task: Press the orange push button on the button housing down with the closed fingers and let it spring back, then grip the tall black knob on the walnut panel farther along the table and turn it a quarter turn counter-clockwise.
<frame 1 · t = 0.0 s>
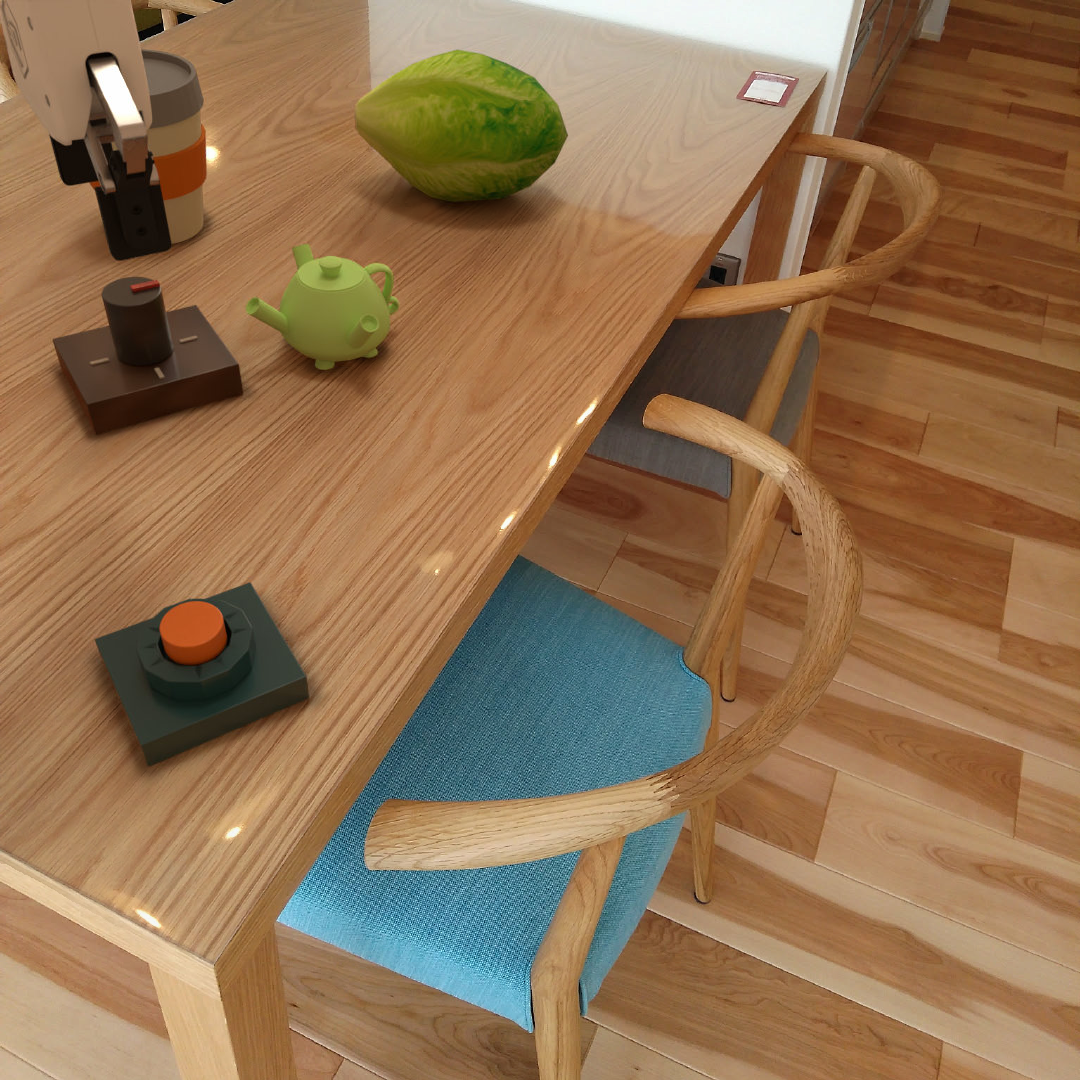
hand: (115, 215, 58), 23 cm above the table, tool pointing down, fingers open, 9 cm apart
dial: (137, 319, 81), point 6 cm above the table, hinge at 0.0°
reusable coffee cup: (158, 226, 104), on the table
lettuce: (460, 192, 114), on the table
button housing: (205, 679, 64), on the table
dial panel: (152, 381, 85), on the table
teapot: (328, 350, 90), on the table
orange push button: (193, 633, 60), point 4 cm above the table, slide at 0.1 cm
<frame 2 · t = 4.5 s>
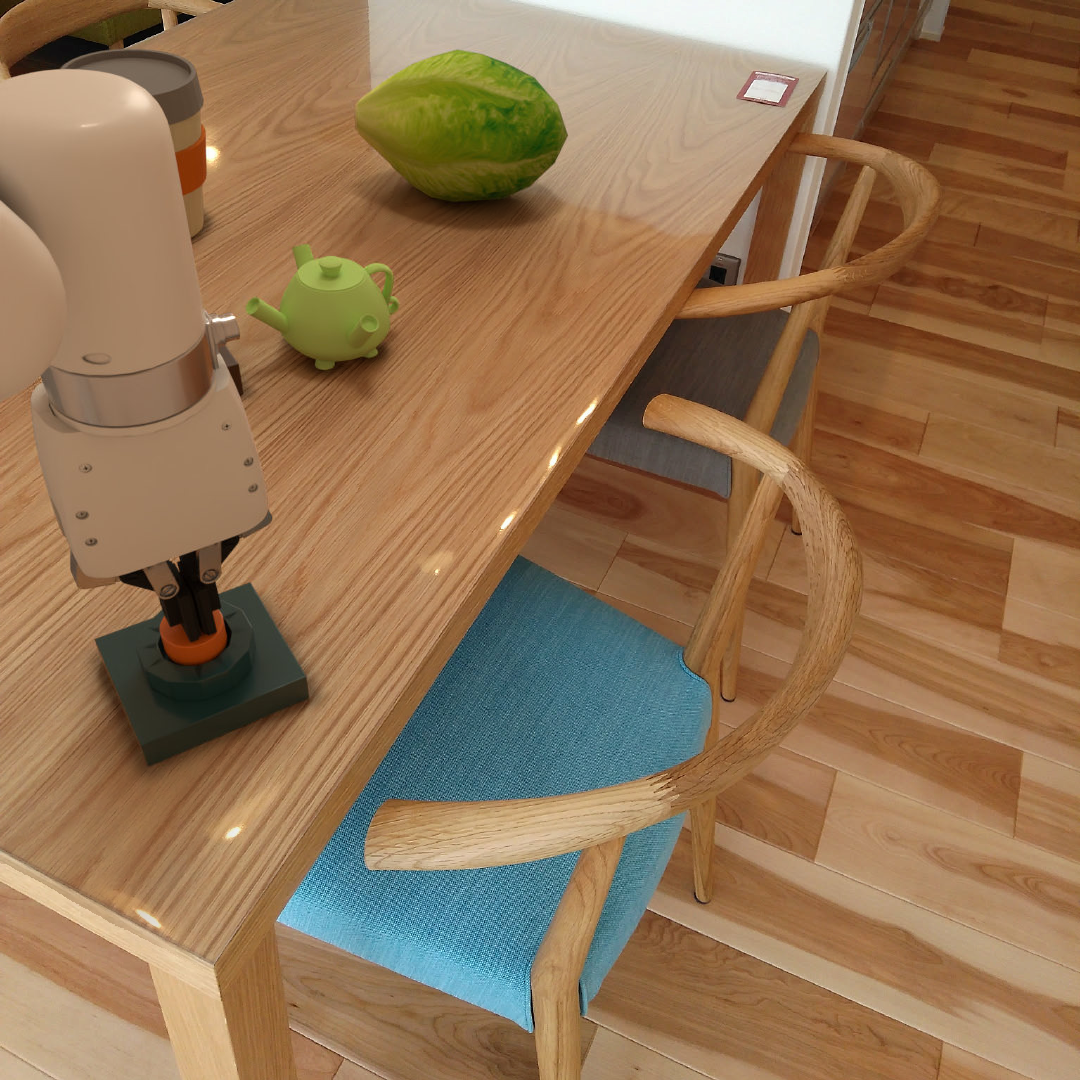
hand: (195, 621, 60), 5 cm above the table, tool pointing down, fingers closed
orange push button: (193, 633, 60), point 4 cm above the table, slide at 0.1 cm, touching gripper
everything else where it was.
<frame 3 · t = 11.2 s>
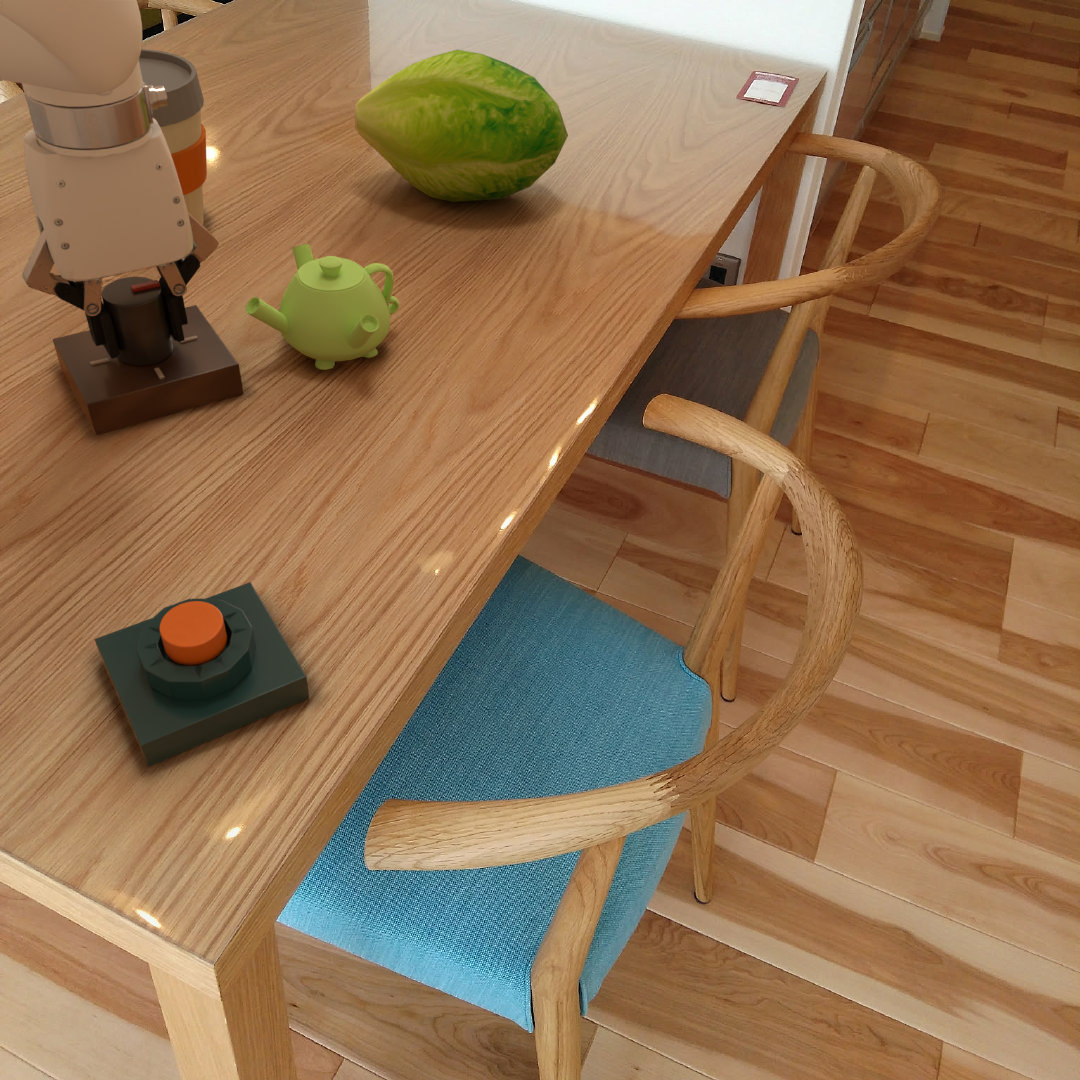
hand: (142, 339, 82), 4 cm above the table, tool pointing down, fingers closed on dial, 4 cm apart
dial: (137, 319, 81), point 6 cm above the table, hinge at -0.1°, touching gripper
orange push button: (193, 633, 60), point 4 cm above the table, slide at 0.1 cm
everything else where it was.
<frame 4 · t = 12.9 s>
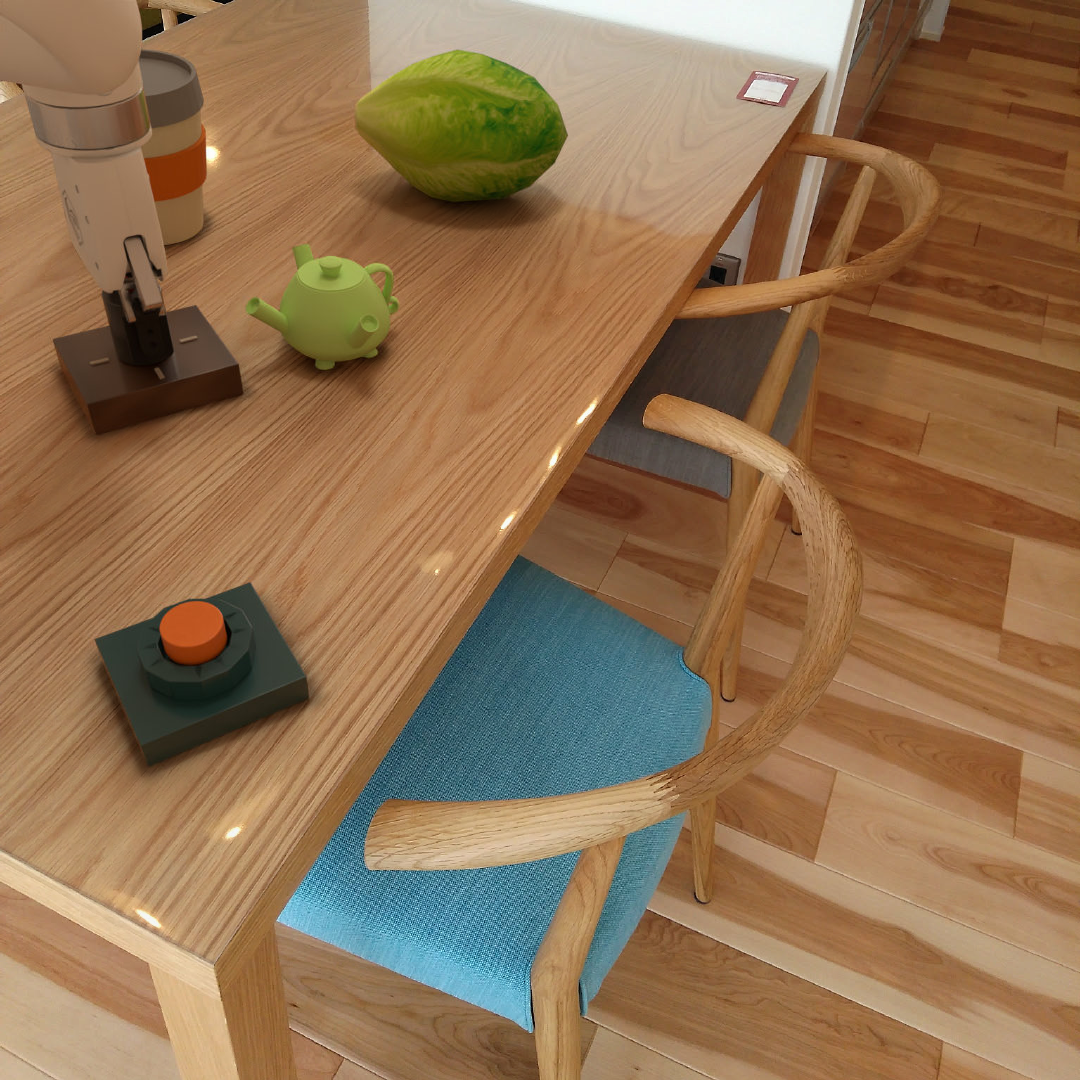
hand: (142, 339, 82), 4 cm above the table, tool pointing down, fingers closed on dial, 4 cm apart
dial: (137, 319, 81), point 6 cm above the table, hinge at 91.2°, touching gripper
everything else where it was.
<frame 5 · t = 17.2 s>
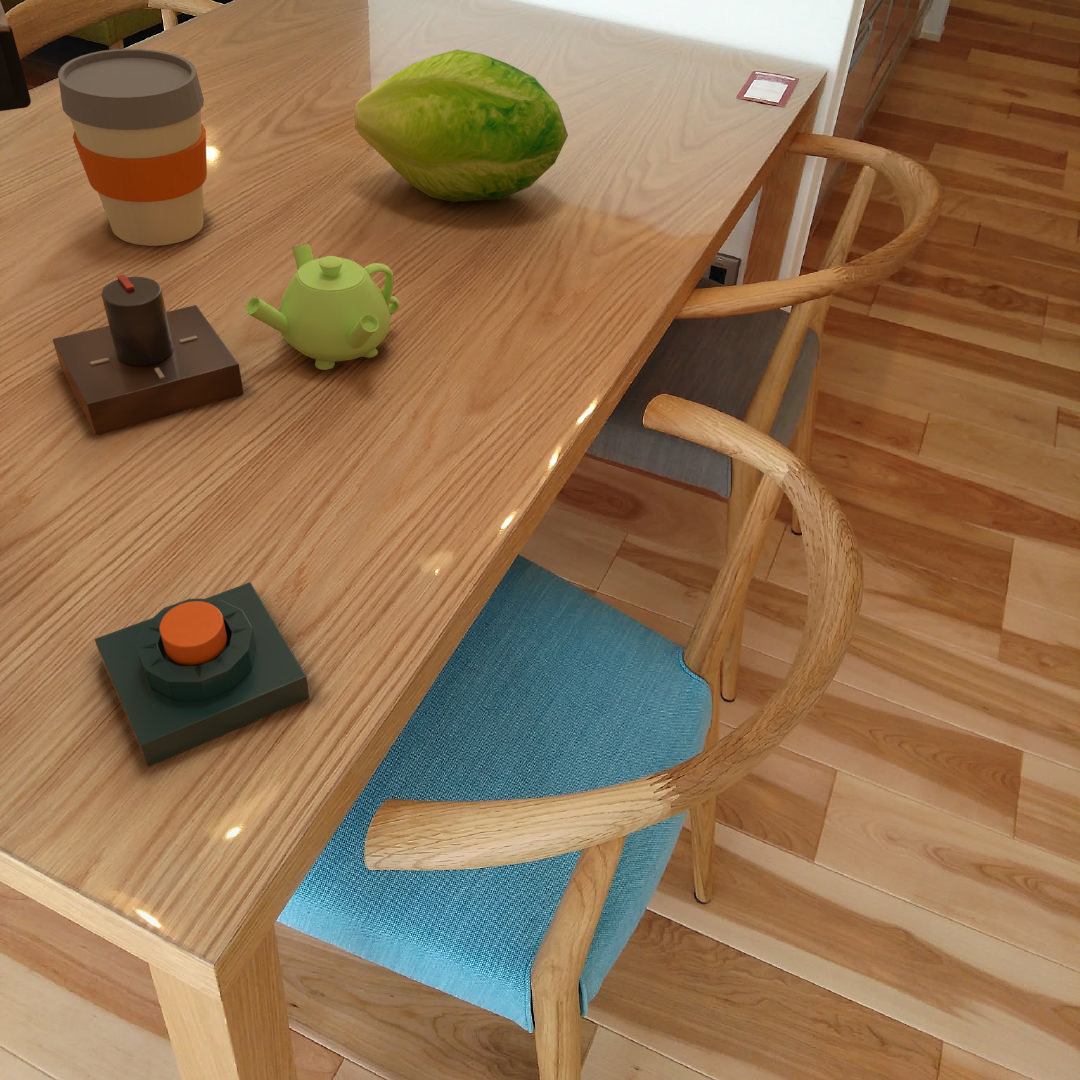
dial: (137, 319, 81), point 6 cm above the table, hinge at 93.7°
everything else where it was.
at the end: orange push button pushed in 1.1 cm at the most during the clip, back to where it started at the end; orange push button slide at 0.1 cm; dial at +94° (first picture: +0°) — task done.
